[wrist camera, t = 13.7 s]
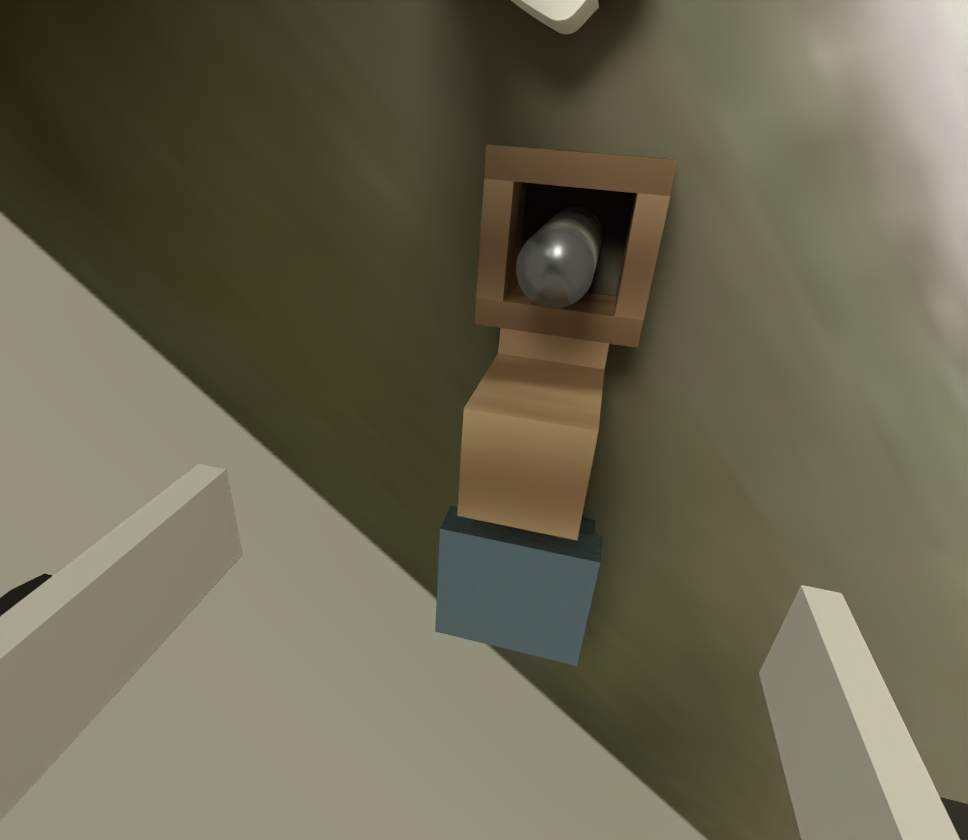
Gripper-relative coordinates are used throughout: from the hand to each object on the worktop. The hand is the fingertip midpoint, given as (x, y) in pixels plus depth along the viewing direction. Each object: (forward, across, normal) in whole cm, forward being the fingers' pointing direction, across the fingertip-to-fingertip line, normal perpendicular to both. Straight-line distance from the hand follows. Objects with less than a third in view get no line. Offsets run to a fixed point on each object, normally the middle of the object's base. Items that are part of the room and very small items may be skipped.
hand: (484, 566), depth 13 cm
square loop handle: (+13, 0, +1) cm, 13 cm away
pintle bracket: (+13, 0, -2) cm, 13 cm away
